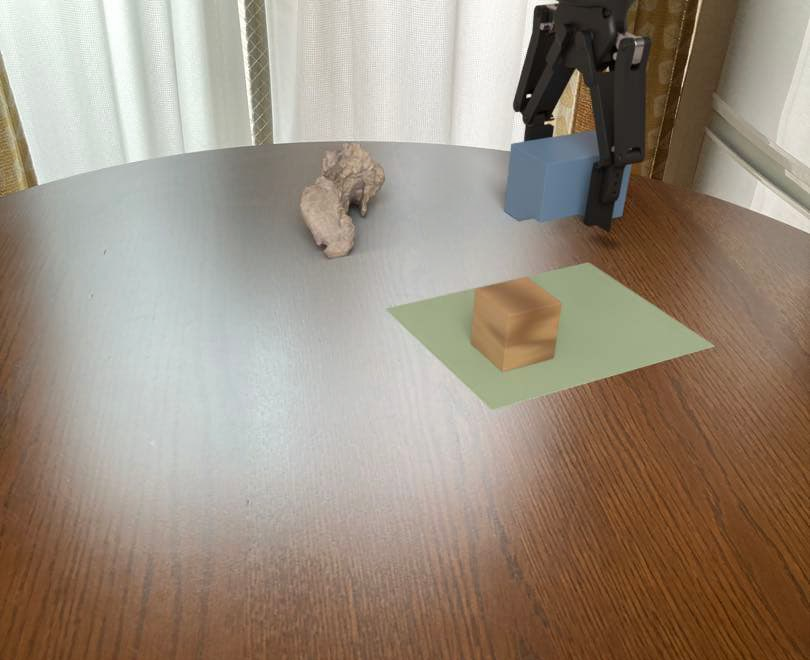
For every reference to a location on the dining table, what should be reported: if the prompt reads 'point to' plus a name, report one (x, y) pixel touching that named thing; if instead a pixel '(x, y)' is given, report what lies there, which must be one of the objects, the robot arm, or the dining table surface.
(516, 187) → the sponge
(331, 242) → the rock
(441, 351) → the tray
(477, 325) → the cork block
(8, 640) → the dining table surface
